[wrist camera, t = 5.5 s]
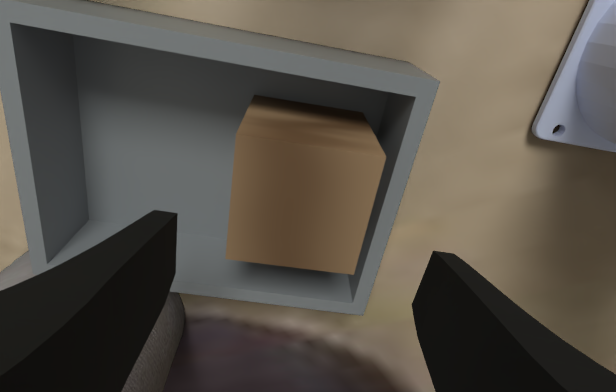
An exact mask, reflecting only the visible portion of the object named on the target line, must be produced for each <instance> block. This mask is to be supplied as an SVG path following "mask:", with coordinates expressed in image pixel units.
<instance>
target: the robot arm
mask: <svg viewBox="0 0 616 392" xmlns="http://www.w3.org/2000/svg"><path fill="white" fill-rule="evenodd" d="M557 125H560V127H559V130H558V131H557V132H555V133H552V132H553V129H554V128H555V127H556V126H557ZM532 133H533V134H534V135H535V136H536V137H538V138H540V139H544V140H549V141H555V142H560V143H566V144H572V145H577V146H583V147H588V148H594V149H600V150H605V151H611V152H616V0H589V2H588V5H587V7H586V9H585V11H584V13H583V16H582V18H581V20H580V22H579V24H578V26H577V29H576V31H575V33H574V35H573V37H572V40H571V42H570V44H569V46H568V48H567V51H566V53H565V55H564V57H563V59H562V61H561V64H560V66H559V68H558V70H557V72H556V75H555V77H554V79H553V81H552V83H551V86H550V88H549V90H548V92H547V94H546V96H545V99H544V101H543V103H542V105H541V107H540V110H539V112H538V114H537V116H536V118H535V121H534V123H533V125H532ZM177 216H178V213H173V212H166V211H160V210H153V211H151V212H150V213H148V214H146V215H145V216H143V217H141V218H140V219H138V220H137V221H135V222H133V223H132V224H130V225H129V226H127V227H125V228H124V229H122V230H120V231H119V232H117V233H115V234H114V235H112V236H110V237H109V238H107V239H105V240H104V241H102V242H100V243H99V244H97V245H95V246H93V247H91V248H89V249H88V250H86V251H84V252H82V253H80V254H78V255H76V256H75V257H73V258H71V259H69V260H67V261H65V262H63V263H61V264H60V265H57V266H55V267H53V268H51V269H49V270H47V271H45V272H43V273H41V274H39V275H36V276H34V277H32V278H29V279H27V280H25V281H23V282H20V283H18V284H16V285H13V286H11V287H8V288H6V289H4V290H1V291H0V392H122V390H123V387H124V385H125V383H126V381H127V379H128V377H129V375H130V373H131V371H132V369H133V367H134V365H135V363H136V361H137V359H138V357H139V355H140V353H141V351H142V349H143V347H144V345H145V343H146V341H147V339H148V337H149V335H150V333H151V331H152V329H153V327H154V325H155V323H156V321H157V319H158V317H159V315H160V313H161V311H162V309H163V307H164V305H165V302H166V300H167V297H168V294H169V291H170V288H171V285H172V283H173V280H174V277H175V274H176V247H177ZM412 309H413V315H414V321H415V326H416V331H417V336H418V340H419V343H420V346H421V349H422V352H423V355H424V358H425V361H426V364H427V367H428V370H429V373H430V376H431V379H432V382H433V385H434V388H435V391H436V392H616V374H614V373H612V372H611V371H609V370H608V369H606V368H604V367H603V366H601V365H600V364H598V363H596V362H595V361H593V360H592V359H590V358H589V357H587V356H586V355H584V354H583V353H581V352H580V351H578V350H577V349H575V348H574V347H573V346H571V345H570V344H568V343H567V342H565V341H564V340H562V339H561V338H560V337H558V336H557V335H555V334H554V333H553V332H551V331H550V330H549V329H547V328H546V327H545V326H543V325H542V324H541V323H539V322H538V321H537V320H536V319H534V318H533V317H532V316H530V315H529V314H528V313H526V312H525V311H524V310H523V309H521V308H520V307H519V306H518V305H516V304H515V303H514V302H513V301H512V300H510V299H509V298H508V297H507V296H506V295H504V294H503V293H502V292H501V291H499V290H498V289H497V288H496V287H495V286H494V285H492V284H491V283H490V282H489V281H488V280H486V279H485V278H484V277H483V276H482V275H480V274H479V273H478V272H477V271H476V270H474V269H473V268H472V267H471V266H470V265H468V264H467V263H466V262H464V261H463V260H462V259H460V258H459V257H458V256H456V255H455V254H452V253H445V252H438V251H433V253H432V255H431V258H430V260H429V263H428V265H427V268H426V270H425V273H424V275H423V278H422V280H421V283H420V285H419V288H418V290H417V293H416V295H415V298H414V300H413V303H412Z"/></svg>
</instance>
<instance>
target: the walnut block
mask: <svg viewBox="0 0 616 392" xmlns="http://www.w3.org/2000/svg"><path fill="white" fill-rule="evenodd" d="M385 160H386V155H385V153H384V151H383V150H382V148H381V146H380V144H379V142H378V140H377V138H376V136H375V134H374V133H373V131H372V129H371V127H370V125H369V123H368V121H367V119H366V118H365V116H364V114H363V112H358V111H351V110H345V109H339V108H333V107H327V106H321V105H314V104H308V103H302V102H296V101H290V100H284V99H277V98H271V97H265V96H259V95H254V96H253V98H252V101H251V103H250V105H249V107H248V109H247V111H246V113H245V116H244V118H243V120H242V122H241V124H240V126H239V128H238V131H237V133H236V139H235V151H234V162H233V174H232V186H231V198H230V210H229V221H228V233H227V245H226V257H225V259H229V260H237V261H245V262H253V263H261V264H269V265H277V266H286V267H294V268H302V269H310V270H318V271H326V272H334V273H342V274H351V275H354V272H355V269H356V265H357V262H358V258H359V254H360V251H361V247H362V243H363V240H364V236H365V233H366V229H367V225H368V222H369V218H370V214H371V211H372V207H373V204H374V200H375V196H376V193H377V189H378V186H379V182H380V178H381V175H382V171H383V167H384V164H385Z"/></svg>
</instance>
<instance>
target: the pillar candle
mask: <svg viewBox="0 0 616 392" xmlns="http://www.w3.org/2000/svg"><path fill="white" fill-rule="evenodd" d="M34 276H36V275H34V274H33V271H32V266H31V260H30V254H29V251H27V252H26V253H24V254H23V255H22V256H20V257H19V258H17V259H16V260H15V261H14V262H13V263H12V264H11V265H10V266H8V267H6V268H5V269H4V270H2V271H1V272H0V291H1V290H4V289H6V288H8V287H11V286H13V285H16V284H18V283H20V282H23V281H25V280H27V279H29V278H32V277H34ZM184 322H185V314H184V307H183V304H182V301H181V298H180V296H179V294H178V292H170V291H169V294H168V297H167V300H166V302H165V305H164V307H163V309H162V311H161V313H160V315H159V317H158V319H157V321H156V323H155V325H154V327H153V329H152V331H151V333H150V335H149V337H148V339H147V341H146V343H145V345H144V347H143V349H142V351H141V353H140V355H139V357H138V359H137V361H136V363H135V365H134V367H133V369H132V371H131V373H130V375H129V377H128V379H127V381H126V383H125V385H124V387H123V390H122V392H163V389H164V385H165V383H166V380H167V377H168V374H169V371H170V368H171V365H172V362H173V359H174V356H175V353H176V351H177V348H178V345H179V342H180V340H181V337H182V334H183V329H184Z"/></svg>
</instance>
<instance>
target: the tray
mask: <svg viewBox="0 0 616 392" xmlns="http://www.w3.org/2000/svg"><path fill="white" fill-rule="evenodd" d="M439 83H440V81H439V80H437V79H435V78H434V77H432V76H430V75H429V74H427V73H426V72H424V71H422V70H421V69H419V68H418V67H416V66H414V65H413V64H411V63H409V62H406V61H401V60H396V59H390V58H385V57H380V56H375V55H370V54H364V53H359V52H354V51H349V50H343V49H338V48H333V47H328V46H323V45H317V44H312V43H307V42H302V41H297V40H291V39H286V38H281V37H276V36H271V35H265V34H260V33H255V32H250V31H245V30H239V29H234V28H229V27H224V26H219V25H213V24H208V23H203V22H198V21H193V20H187V19H182V18H177V17H172V16H167V15H161V14H156V13H151V12H146V11H141V10H135V9H130V8H125V7H120V6H115V5H109V4H104V3H99V2H94V1H89V0H0V91H1V96H2V102H3V108H4V113H5V119H6V125H7V130H8V136H9V142H10V147H11V153H12V159H13V164H14V170H15V175H16V181H17V187H18V192H19V198H20V204H21V209H22V215H23V221H24V226H25V232H26V237H27V243H28V249H29V254H30V260H31V266H32V271H33V274H34V275H39V274H41V273H43V272H45V271H47V270H49V269H51V268H53V267H55V266H57V265H60V264H61V263H63V262H65V261H67V260H69V259H71V258H73V257H75V256H76V255H78V254H80V253H82V252H84V251H86V250H88V249H89V248H91V247H93V246H95V245H97V244H99V243H100V242H102V241H104V240H105V239H107V238H109V237H110V236H112V235H114V234H115V233H117V232H119V231H120V230H122V229H124V228H125V227H127V226H129V225H130V224H132V223H133V222H135V221H137V220H138V219H140V218H141V217H143V216H145V215H146V214H148V213H150V212H151V211H153V210H160V211H166V212H173V213H178V216H177V247H176V274H175V277H174V280H173V283H172V285H171V288H170V292H178V293H186V294H194V295H202V296H210V297H218V298H226V299H234V300H242V301H250V302H258V303H266V304H274V305H282V306H290V307H298V308H306V309H314V310H322V311H330V312H338V313H346V314H354V315H362V316H363V315H364V311H365V308H366V305H367V302H368V299H369V296H370V293H371V290H372V287H373V284H374V281H375V278H376V275H377V272H378V269H379V266H380V263H381V260H382V257H383V254H384V251H385V248H386V245H387V241H388V238H389V235H390V232H391V229H392V226H393V223H394V220H395V217H396V214H397V211H398V208H399V205H400V202H401V199H402V196H403V193H404V190H405V187H406V184H407V181H408V178H409V174H410V171H411V168H412V165H413V162H414V159H415V156H416V153H417V150H418V147H419V144H420V141H421V138H422V135H423V132H424V129H425V126H426V123H427V120H428V117H429V114H430V111H431V107H432V104H433V101H434V98H435V95H436V92H437V89H438V86H439ZM254 95H259V96H265V97H271V98H277V99H284V100H290V101H296V102H302V103H308V104H314V105H321V106H327V107H333V108H339V109H345V110H351V111H358V112H363V114H364V116H365V118H366V119H367V121H368V123H369V125H370V127H371V129H372V131H373V133H374V134H375V136H376V138H377V140H378V142H379V144H380V146H381V148H382V150H383V151H384V153H385V155H386V160H385V164H384V167H383V171H382V175H381V178H380V182H379V186H378V189H377V193H376V196H375V200H374V204H373V207H372V211H371V214H370V218H369V222H368V225H367V229H366V233H365V236H364V240H363V243H362V247H361V251H360V254H359V258H358V262H357V265H356V269H355V272H354V275H351V274H342V273H334V272H326V271H318V270H310V269H302V268H294V267H286V266H277V265H269V264H261V263H253V262H245V261H237V260H229V259H225V257H226V245H227V233H228V221H229V210H230V198H231V186H232V174H233V162H234V151H235V139H236V133H237V131H238V128H239V126H240V124H241V122H242V120H243V118H244V116H245V113H246V111H247V109H248V107H249V105H250V103H251V101H252V98H253V96H254Z"/></svg>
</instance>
